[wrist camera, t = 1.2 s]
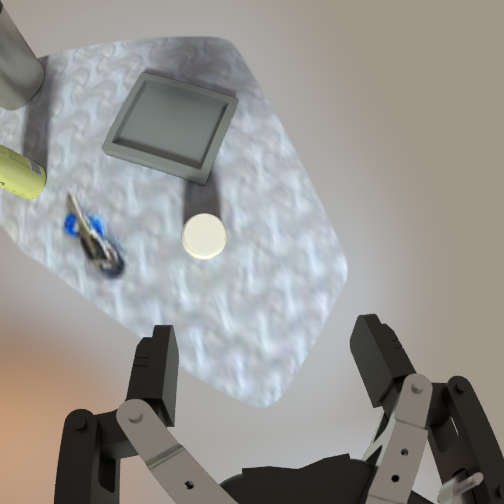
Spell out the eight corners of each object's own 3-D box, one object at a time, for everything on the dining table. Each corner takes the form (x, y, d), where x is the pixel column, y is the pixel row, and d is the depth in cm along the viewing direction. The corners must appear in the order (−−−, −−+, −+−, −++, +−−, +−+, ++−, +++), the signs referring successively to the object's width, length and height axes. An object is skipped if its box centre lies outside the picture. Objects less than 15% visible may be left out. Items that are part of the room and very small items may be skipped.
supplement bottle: (188, 217, 37) (186, 203, 28) (225, 225, 37) (234, 214, 29) (179, 255, 36) (174, 253, 28) (217, 263, 37) (223, 263, 29)
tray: (106, 154, 35) (101, 147, 32) (144, 81, 36) (141, 72, 33) (205, 185, 37) (205, 180, 35) (236, 108, 38) (238, 99, 36)
